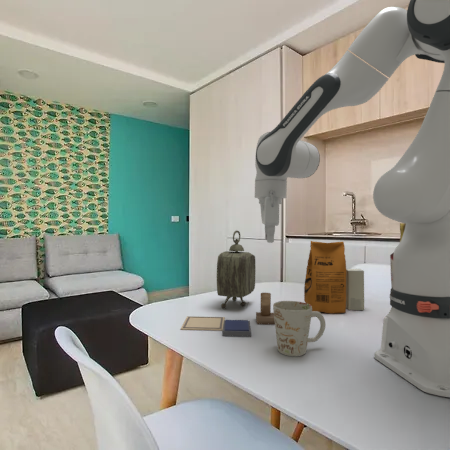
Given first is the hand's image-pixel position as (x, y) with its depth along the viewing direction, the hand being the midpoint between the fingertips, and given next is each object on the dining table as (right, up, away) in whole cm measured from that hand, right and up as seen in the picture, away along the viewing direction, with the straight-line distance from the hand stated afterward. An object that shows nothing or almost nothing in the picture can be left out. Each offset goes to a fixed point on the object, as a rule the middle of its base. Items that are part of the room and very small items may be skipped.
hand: (269, 241), depth 94 cm
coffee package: (+19, -23, +13) cm, 33 cm away
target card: (-18, -23, -3) cm, 29 cm away
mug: (+4, -23, -20) cm, 31 cm away
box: (+30, -23, +15) cm, 40 cm away
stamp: (-1, -23, 0) cm, 23 cm away
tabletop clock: (-8, -23, +17) cm, 30 cm away
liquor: (+38, -23, 0) cm, 44 cm away
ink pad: (-9, -23, -8) cm, 26 cm away
